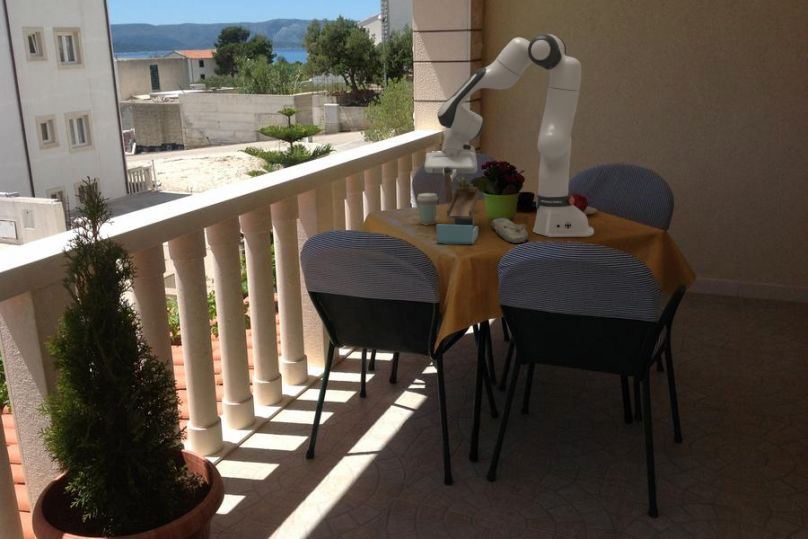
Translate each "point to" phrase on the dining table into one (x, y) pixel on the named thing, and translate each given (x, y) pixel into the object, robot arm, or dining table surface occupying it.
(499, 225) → the elongated rock
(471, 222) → the fulcrum stand
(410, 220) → the dining table surface
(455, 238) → the light blue box
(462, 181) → the house plant
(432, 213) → the coffee cup
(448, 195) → the walnut chute
